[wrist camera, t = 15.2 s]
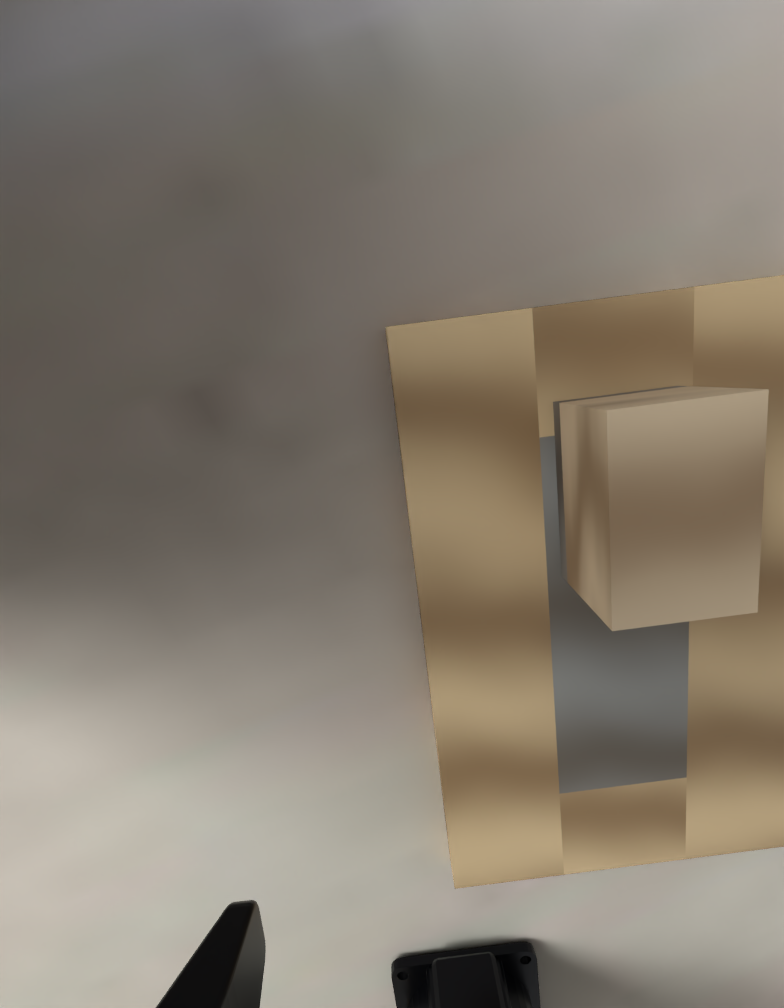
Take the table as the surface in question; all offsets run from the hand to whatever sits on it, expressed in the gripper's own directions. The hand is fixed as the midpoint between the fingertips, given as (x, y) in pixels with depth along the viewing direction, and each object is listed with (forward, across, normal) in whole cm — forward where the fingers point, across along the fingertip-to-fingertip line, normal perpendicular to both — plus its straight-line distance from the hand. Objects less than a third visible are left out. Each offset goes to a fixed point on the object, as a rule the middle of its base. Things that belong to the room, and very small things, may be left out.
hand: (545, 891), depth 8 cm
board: (+12, -6, +1) cm, 13 cm away
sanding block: (+10, -6, -4) cm, 13 cm away
